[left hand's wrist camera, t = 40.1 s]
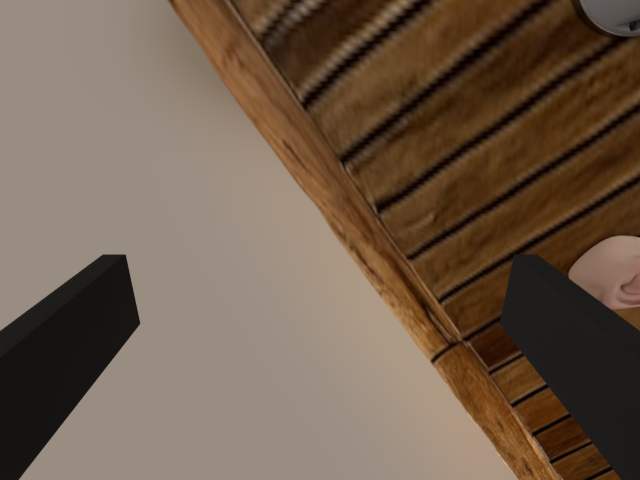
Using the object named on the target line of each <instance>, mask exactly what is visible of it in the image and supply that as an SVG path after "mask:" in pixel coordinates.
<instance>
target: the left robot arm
mask: <svg viewBox="0 0 640 480" xmlns="http://www.w3.org/2000/svg"><path fill="white" fill-rule="evenodd" d="M572 3H573V6H574V8H575V10H576V12H577V14H578V16H579V17H580V18H581V20H582V21H583V22H584V23H585V24H586V25H587V26H588V27H589V28H591V29H592V30H593V31H595V32H597V33H599V34H601V35H604V36H608V37H614V38H627V37H633V36H639V35H640V0H572ZM139 325H140V320H139V315H138V311H137V306H136V301H135V297H134V292H133V287H132V282H131V278H130V273H129V268H128V263H127V259H126V255H102V256H100V257H99V258H98V259H96V260H95V261H94V262H92V263H91V264H90V265H88V266H87V267H86V268H84V269H83V270H82V271H80V272H79V273H78V274H76V275H75V276H74V277H72V278H71V279H69V280H68V281H67V282H65V283H64V284H63V285H61V286H60V287H59V288H57V289H56V290H55V291H53V292H52V293H51V294H49V295H48V296H47V297H45V298H44V299H43V300H41V301H40V302H39V303H37V304H36V305H34V306H33V307H32V308H30V309H29V310H28V311H26V312H25V313H24V314H22V315H21V316H20V317H18V318H17V319H16V320H14V321H13V322H12V323H10V324H9V325H8V326H6V327H5V328H4V329H2V330H1V331H0V480H19V479H20V477H21V476H22V475H23V473H24V472H25V471H26V470H27V468H28V467H29V466H30V464H31V463H32V462H33V461H34V459H35V458H36V457H37V455H38V454H39V453H40V452H41V450H42V449H43V448H44V446H45V445H46V444H47V443H48V441H49V440H50V439H51V437H52V436H53V435H54V434H55V432H56V431H57V430H58V428H59V427H60V426H61V425H62V423H63V422H64V421H65V420H66V418H67V417H68V416H69V414H70V413H71V412H72V411H73V409H74V408H75V407H76V405H77V404H78V403H79V402H80V400H81V399H82V398H83V396H84V395H85V394H86V393H87V391H88V390H89V389H90V387H91V386H92V385H93V384H94V382H95V381H96V380H97V378H98V377H99V376H100V375H101V373H102V372H103V371H104V369H105V368H106V367H107V366H108V364H109V363H110V362H111V361H112V359H113V358H114V357H115V355H116V354H117V353H118V352H119V350H120V349H121V348H122V346H123V345H124V344H125V343H126V341H127V340H128V339H129V337H130V336H131V335H132V334H133V332H134V331H135V330H136V329H137V327H138V326H139ZM500 325H501V326H502V327H503V329H504V330H505V331H506V332H507V334H508V335H509V336H510V337H511V339H512V340H513V341H514V343H515V344H516V345H517V346H518V348H519V349H520V350H521V352H522V353H523V354H524V355H525V357H526V358H527V359H528V361H529V362H530V363H531V364H532V366H533V367H534V368H535V370H536V371H537V372H538V373H539V375H540V376H541V377H542V379H543V380H544V381H545V382H546V384H547V385H548V386H549V387H550V389H551V390H552V391H553V393H554V394H555V395H556V396H557V398H558V399H559V400H560V402H561V403H562V404H563V405H564V407H565V408H566V409H567V411H568V412H569V413H570V414H571V416H572V417H573V418H574V420H575V421H576V422H577V423H578V425H579V426H580V427H581V429H582V430H583V431H584V432H585V434H586V435H587V436H588V438H589V439H590V440H591V441H592V443H593V444H594V445H595V446H596V448H597V449H598V450H599V452H600V453H601V454H602V455H603V457H604V458H605V459H606V461H607V462H608V463H609V464H610V466H611V467H612V468H613V470H614V471H615V472H616V473H617V475H618V476H619V477H620V479H621V480H640V331H639V330H638V329H636V328H635V327H634V326H632V325H631V324H630V323H628V322H627V321H626V320H624V319H623V318H622V317H620V316H619V315H618V314H616V313H615V312H614V311H612V310H611V309H610V308H608V307H607V306H606V305H604V304H603V303H601V302H600V301H599V300H597V299H596V298H595V297H593V296H592V295H591V294H589V293H588V292H587V291H585V290H584V289H583V288H581V287H580V286H579V285H577V284H576V283H575V282H573V281H572V280H571V279H569V278H568V277H567V276H565V275H564V274H562V273H561V272H560V271H558V270H557V269H556V268H554V267H553V266H552V265H550V264H549V263H548V262H546V261H545V260H544V259H542V258H541V257H540V256H538V255H514V259H513V263H512V268H511V273H510V278H509V282H508V287H507V292H506V297H505V301H504V306H503V311H502V315H501V320H500Z"/></svg>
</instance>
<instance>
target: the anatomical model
mask: <svg viewBox="0 0 640 480" xmlns="http://www.w3.org/2000/svg"><path fill="white" fill-rule="evenodd" d="M569 279H571V280H572V281H573V282H575V283H576V284H577V285H579V286H580V287H581V288H583V289H584V290H585V291H587V292H588V293H589V294H591V295H592V296H593V297H595V298H596V299H597V300H599V301H600V302H602V303H603V304H604V305H606V306H607V307H608V308H610V309H611V310H617V309H625V308H634V307H640V238H639V237H633V236H614V237H610V238H607V239H605V240H603V241H601V242H600V243H598V244H596V245H595V246H593V247H592V248H591V249H589V250H588V251H587V252H586V253H585V254H584V255H583V256H581V257H580V258H579V259H578V260H577V261H576V262H575V264H574V265H573V266H572V267H571V269H570V271H569Z"/></svg>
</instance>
